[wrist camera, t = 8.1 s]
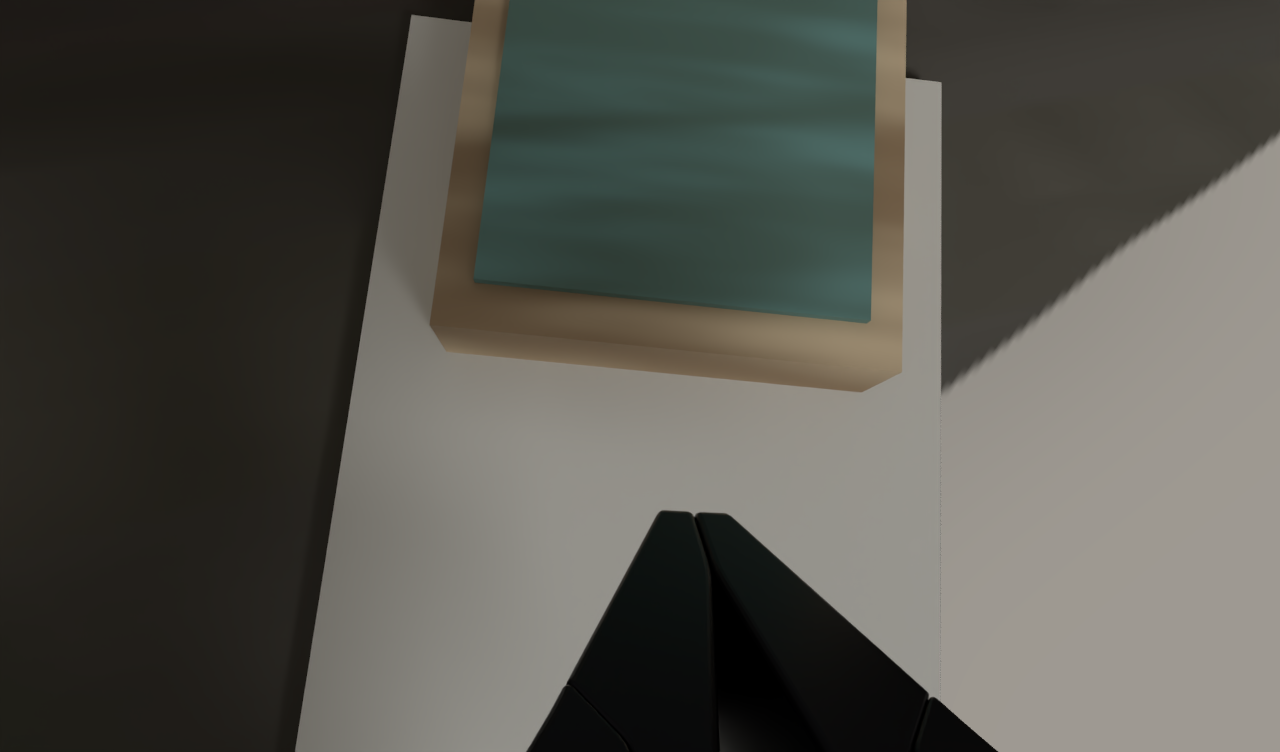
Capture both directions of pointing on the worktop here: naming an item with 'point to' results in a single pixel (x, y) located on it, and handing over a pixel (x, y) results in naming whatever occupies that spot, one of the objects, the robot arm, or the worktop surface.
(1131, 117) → the worktop surface
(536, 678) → the mat
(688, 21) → the plaque
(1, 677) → the worktop surface
